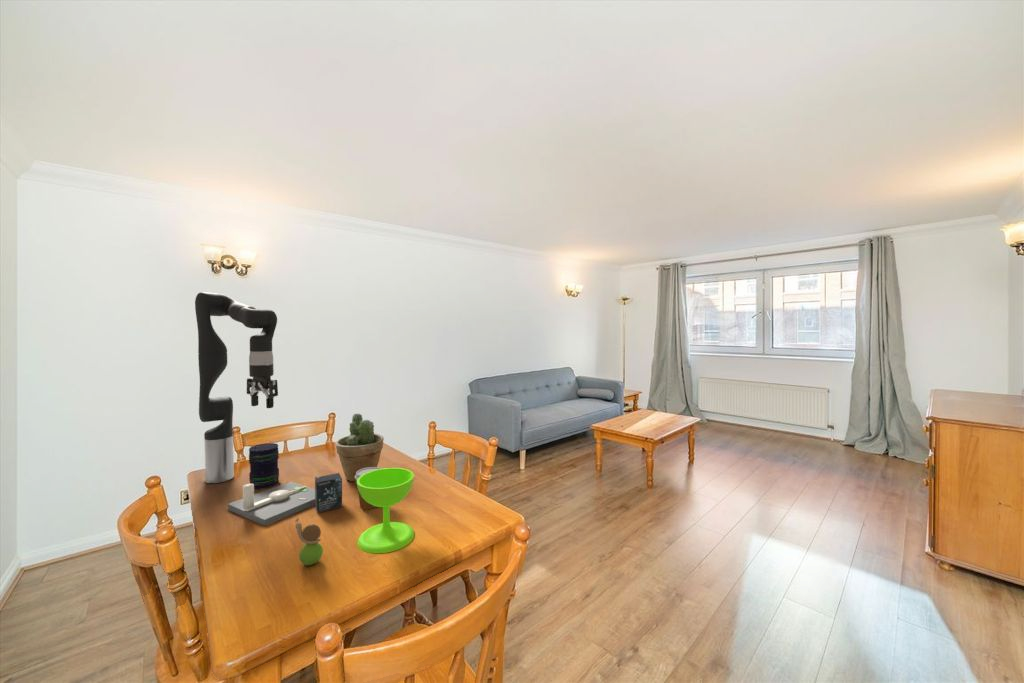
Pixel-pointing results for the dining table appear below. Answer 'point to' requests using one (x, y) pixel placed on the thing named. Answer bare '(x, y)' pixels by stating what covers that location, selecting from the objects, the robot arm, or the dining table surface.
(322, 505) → the box
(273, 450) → the storage jar
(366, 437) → the potted plant
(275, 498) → the tuning crank
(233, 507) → the dial board
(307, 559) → the snail figurine
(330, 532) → the dining table surface
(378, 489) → the wineglass
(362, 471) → the disposable coffee cup
